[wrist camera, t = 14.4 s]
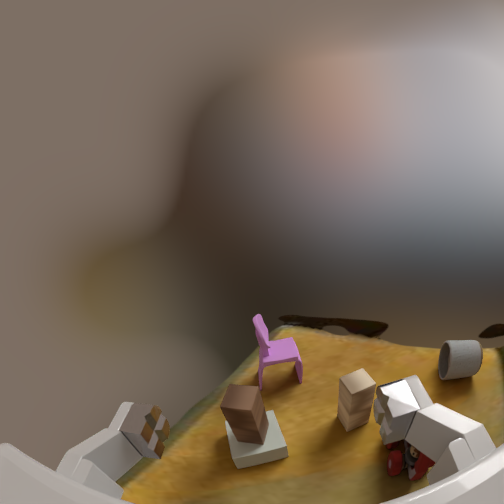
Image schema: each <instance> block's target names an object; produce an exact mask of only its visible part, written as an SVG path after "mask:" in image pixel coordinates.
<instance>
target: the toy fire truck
mask: <svg viewBox="0 0 504 504" xmlns="http://www.w3.org/2000/svg"><path fill="white" fill-rule="evenodd" d="M403 440H404V445H405V451H406V452H405V454H402V452H401V451H400V450H396V451H391V452H390V453H389V456H388V460H387V472H388V475H389V476H394V475H398V474H400V472H401V470H402V469H405V468H407V467H408V473H409V479H410V480H411V481H413V480H418V479H420V478H421V477H422V476H423V475H424V474H425V473H426V472H427V470H428V468H429V467H432V466H433V465H434V464H435V462H434V461H433V460H432V459H430V458H429V457H427V456H426V455H425V454H423V453H422V452H421V451H419V450H418V449H417V448H415V447H414V446H413V445H411V444H410V443H409V442H407V441H406V440H405V439H403ZM399 441H400V440H399ZM399 441H396V442H392V443H389V444H386V447H387V448H388V449H392V448H396V447H397V446H398V445H399Z"/></svg>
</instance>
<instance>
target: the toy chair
mask: <svg viewBox="0 0 504 504" xmlns="http://www.w3.org/2000/svg"><path fill="white" fill-rule="evenodd" d="M253 322H254V325H255V327H256V336H257V339H258V342H259V345H260V351H259V359H260V360H259V369H258V375H259V386H260V390H262V374H263V369H264V367H266V366H269V365H274V364H278V363H283V362H291V361H296V363H295V367H296V371H297V374H298V378H299V382H300V384H301V383H302V374H303V366H302V362H301V358H300V355H299V352H298V349H297V346H296V343H295V342H294V341H293V338H292V337H291V338H286V339H282V340H277V341H269V342H268V329H267V327H266V326H265V324H264V322H263V319H262V317H261V315H260V314H258V315H256V316H255V317H254V318H253Z"/></svg>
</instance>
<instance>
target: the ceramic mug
mask: <svg viewBox="0 0 504 504" xmlns="http://www.w3.org/2000/svg"><path fill="white" fill-rule="evenodd" d="M482 359H483V350H482V347H481V345H480V343H479V342H478V341H474V340H466V341H465V340H463V341H445V342H444V343H443V345H442V347H441V350H440V355H439V364H438V369H439V376H440V378H441V379H442V380H448V379H457V378H463V377H470V376H473V375H475V374H476V373H477V372H478V371H479V369H480V367H481V364H482Z"/></svg>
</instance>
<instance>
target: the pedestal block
mask: <svg viewBox="0 0 504 504" xmlns="http://www.w3.org/2000/svg"><path fill="white" fill-rule="evenodd" d="M266 415H267V418H268V422H269V426H268V430H267V434H266V438H265V441H264V445H262V444H252V443H244V442H238V441H237V439H236V437H235V436H234V434H233V432H232V430H231V428H230V426H229V424H228V422H227V421H225V424H226V429H227V435H228V440H229V445H230V450H231V455H232V459H233V461H234V463H235V465H236V467H237V469H240V468H245V467H249V466H254V465H258V464H263V463H267V462H271V461H274V460H278V459H282V458H285V457H288V451H287V445H286V443H285V440H284V438H283V435H282V433H281V430H280V427H279V425H278V422H277V420H276V417H275V414H274V412H273V410H271V411H267V412H266Z"/></svg>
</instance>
